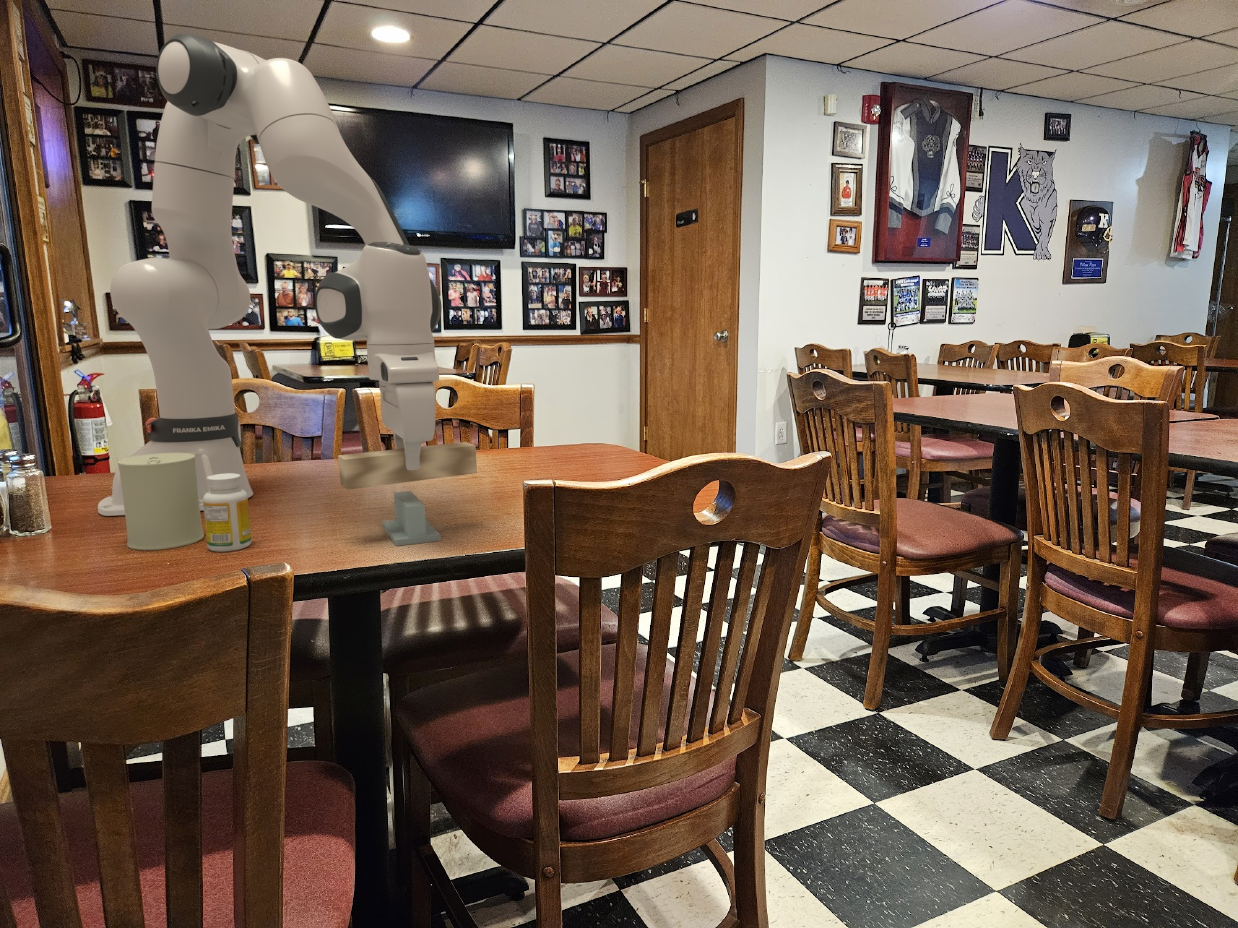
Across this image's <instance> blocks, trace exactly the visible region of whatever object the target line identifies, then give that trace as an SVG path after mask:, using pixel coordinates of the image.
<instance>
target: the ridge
mask: <svg viewBox="0 0 1238 928" xmlns="http://www.w3.org/2000/svg"><path fill="white" fill-rule="evenodd" d="M393 498H394V499H393V500H394V513H395V514H394V516H395V517H394V518H395V519H391V520H383V521H382V528H383V530H384V531H385V533H386V534H387V535H388V537H389V538H390V540H391V541H392V543H393V544H394V546H395V547H399V546H406V545H407V546H408V545H413V544H416V545H417V544H421V543H422V544H423V543H432V542H440V541H441V534H440V533H439V532H438V530H437V529H435V527H434V526H433V525H432V524H431V522H429V520H427V518H426V507H425V504H424V503H423V502H422V501H421V500H420V499H419V498H418V496H416V495H415V493H413V491H412V490H407V491H397V492H393Z"/></svg>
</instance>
